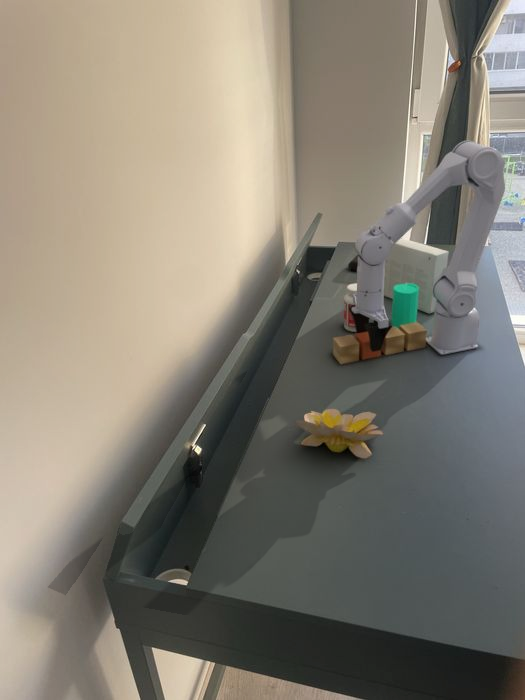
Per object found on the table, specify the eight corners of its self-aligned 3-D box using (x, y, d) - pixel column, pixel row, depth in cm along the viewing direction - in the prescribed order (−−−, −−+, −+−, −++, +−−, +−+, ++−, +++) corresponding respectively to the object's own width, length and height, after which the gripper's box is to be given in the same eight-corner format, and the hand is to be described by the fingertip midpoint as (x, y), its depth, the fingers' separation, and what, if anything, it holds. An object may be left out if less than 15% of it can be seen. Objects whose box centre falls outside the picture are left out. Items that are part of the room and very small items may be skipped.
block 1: (351, 351, 123) (351, 334, 121) (359, 360, 119) (359, 343, 117) (333, 354, 122) (333, 337, 120) (340, 364, 119) (340, 346, 116)
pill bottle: (373, 327, 132) (375, 287, 127) (355, 335, 130) (355, 294, 124) (356, 319, 137) (357, 279, 132) (338, 326, 134) (338, 286, 129)
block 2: (394, 342, 125) (395, 326, 123) (403, 351, 121) (404, 334, 119) (377, 346, 124) (377, 329, 122) (385, 355, 121) (386, 338, 118)
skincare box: (443, 308, 139) (450, 251, 131) (429, 315, 136) (435, 256, 128) (385, 285, 154) (387, 232, 146) (371, 291, 152) (373, 237, 144)
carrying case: (401, 264, 168) (357, 259, 174) (402, 255, 166) (357, 251, 173) (392, 276, 160) (346, 271, 166) (393, 267, 158) (346, 262, 164)
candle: (416, 322, 133) (420, 277, 127) (414, 333, 129) (418, 287, 123) (392, 320, 135) (395, 276, 129) (389, 330, 130) (392, 285, 125)
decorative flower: (395, 422, 96) (390, 384, 90) (380, 473, 89) (374, 436, 83) (317, 411, 103) (308, 375, 96) (298, 457, 96) (287, 421, 89)
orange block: (372, 347, 124) (373, 330, 122) (380, 356, 120) (381, 338, 118) (354, 350, 123) (355, 333, 121) (362, 359, 120) (363, 342, 117)
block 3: (415, 338, 126) (417, 321, 124) (425, 347, 122) (426, 330, 120) (398, 342, 125) (399, 325, 123) (407, 350, 122) (408, 333, 119)
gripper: (340, 278, 119) (340, 331, 126) (367, 304, 107) (365, 361, 114) (369, 273, 120) (368, 326, 127) (399, 298, 108) (395, 355, 115)
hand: (368, 342), depth 121 cm, fingers open, 7 cm apart
